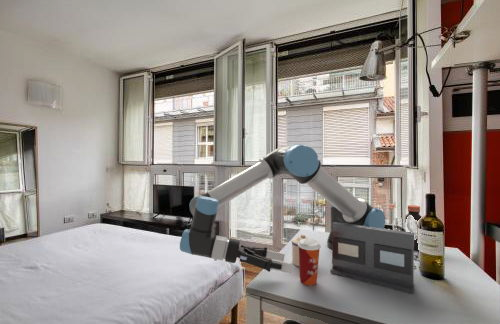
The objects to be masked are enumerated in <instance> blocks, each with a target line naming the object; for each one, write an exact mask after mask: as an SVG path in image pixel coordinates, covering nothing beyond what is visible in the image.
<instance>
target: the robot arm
mask: <svg viewBox="0 0 500 324" xmlns="http://www.w3.org/2000/svg"><path fill="white" fill-rule="evenodd" d="M280 175H289V176H290V177H292V178H293V179H294V180H296V181H297V183H299V184H301V185H308V186H309V187H310V188H311V189H312V190H314V191H315V192H316V193H317V194H319V195H320V197H322V198H323V199H325V201H327V202H328V203H329V204H330V231H329V235H328V237H327V241H326V246H327V248H329V249H331V250H332V224H333V223H334V222H339V223H346V224H353V225H360V226H368V227H375V228H382V229H385V225H386V214H385V213H384V211H383V210H382V209H380V208H378V207H373V206H372V205H371V204H369V203H368V202H367V201H366V200H365V199H363V198H359V197H358V198H357V197H355V195H353V194H352V193H351V192H350V191H349V190H348V189H346V187H344V186H343V185H342V184H341V183H340V182H339V181H337V180H336V179H335V178H334V177H333V176H331V174H329V173H328V172H327V171H326V170H325V169H324V168H323V167H322V163H321V160H319V155H318V153H317V152H316V150H315V149H314V148H312V147H311V146H309V145H305V144H293V145H285V146H284V145H283V146H279V147H278V148H276V149H274V150H271V152H269V153H267V154H266V155H264V156H262V157H261V158H260V159H259V160H258V162H257V163H255V164H253V165H252V166H250V167H248V168H247V169H245V170H243V171H241V172H240V173H237V174H236V175H234V176H233V177H231V178H230V179H227V180H226V181H224V182H223V183H221V184H219V185H217V186H215V187H214V188H212V189H210V190H209V191H207V192H205V193H203V194H202V195H197V196H194V197H193V198H192V199H191V200H190V202H189V211H190V213H191V215H192V221H191V226H190V228H189V229H188V228H187V229H186V228H185V229H184V230H183V232H182V235H181V238H180V241H179V250H180V251H181V252H183V253H186V254H190V255H193V256H194V255H195V256H197V257H198V256H200V257H203V258H209V259H213V261H215V262H217V260H218V261H223V260H224V261H225V262H228V263H231V264H235V263H236V262H237V260H238V259H239V262H241V263H246V264H249V265H251V266H253V267H257V268H259V269H262V270H265V271H266V272H271V270H273V271H279V272H283V273H288V274H292V269H293V265H294V264H293V263H289V262H284V261H285V255H286V254H285V253H283V252H277V251H274V250H269V249H268V247H265V246H264V247H259V246H258V247H256V246H250V245H248V246H247V245H243V244H241V242H240V240H238V239H234V238H229V239H228V237H226V236H223V235H222V236H221V235H215V234H213V231H214V226H215V223H216V217H217V214H218V212H219V208H220V207H222V206H223V205H225V204H227V203H228V202H230V201H232V200H234V199H235V198H236V197H239V196H240V195H242V194H243V193H245V192H248V190H250V189H252V188H253V187H255V186H256V185H258V184H260V183H262V182H263V181H265V180H267V179H269V180H270V179H273V178H275V177H277V176H280ZM237 258H238V259H237Z"/></svg>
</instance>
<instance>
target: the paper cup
mask: <svg viewBox="0 0 500 324" xmlns="http://www.w3.org/2000/svg"><path fill="white" fill-rule="evenodd" d="M298 246H299V266H298V267H299V279H300V280H299V281H300V282H301V284H303V285H305V286H315V285H317V280H318V272H319V259H320V249H321V248H322V247H321V245H320V242H319V241H318V240H317V239H314V238H309V239H301V240H300V241H299V243H298Z"/></svg>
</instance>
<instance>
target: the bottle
mask: <svg viewBox="0 0 500 324" xmlns="http://www.w3.org/2000/svg"><path fill="white" fill-rule="evenodd" d="M420 212H421V206H419V205H413V204H409V205H407V214H406V215H405V218H404V219H405V222H406V219H407V217H408V216H409V215H412V216H413V217H414V219H415V220H417V221H418V220H419V219H420V218H421V217H422V216H421V214H420ZM414 252H418V243H417V239H416V240H414Z"/></svg>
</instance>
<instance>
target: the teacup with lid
mask: <svg viewBox="0 0 500 324" xmlns="http://www.w3.org/2000/svg"><path fill="white" fill-rule="evenodd" d="M301 239H310V238H309V237H307V236H306V234H300V236H298V237H295V238H293V239H292V241H291V245H292V246H291V247H292V248H291V257H292V261H291V262H292V264H293V265H294V266H296V267H299V246H298V243H299V241H300V240H301Z"/></svg>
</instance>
